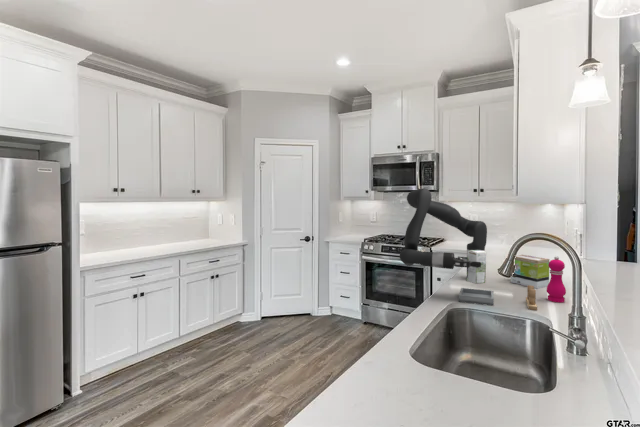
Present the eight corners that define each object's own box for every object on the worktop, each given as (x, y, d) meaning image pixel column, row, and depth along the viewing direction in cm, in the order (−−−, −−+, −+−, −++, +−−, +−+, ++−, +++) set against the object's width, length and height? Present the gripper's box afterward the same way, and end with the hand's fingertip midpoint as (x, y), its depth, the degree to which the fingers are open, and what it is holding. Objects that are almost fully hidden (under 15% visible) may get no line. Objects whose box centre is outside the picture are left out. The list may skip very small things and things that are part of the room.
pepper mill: (559, 298, 160) (560, 254, 159) (569, 303, 153) (570, 257, 152) (543, 298, 160) (543, 254, 160) (551, 302, 153) (552, 257, 152)
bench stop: (525, 300, 157) (526, 283, 157) (533, 301, 156) (533, 284, 156) (528, 309, 145) (528, 291, 144) (537, 310, 143) (537, 292, 143)
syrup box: (476, 280, 163) (476, 249, 163) (486, 283, 158) (486, 251, 157) (466, 281, 161) (466, 250, 161) (475, 284, 156) (476, 251, 155)
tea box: (509, 282, 190) (510, 255, 189) (522, 280, 194) (522, 254, 193) (537, 289, 176) (537, 259, 176) (549, 286, 180) (550, 258, 180)
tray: (461, 293, 169) (461, 287, 169) (493, 297, 163) (493, 290, 163) (458, 301, 157) (458, 295, 157) (493, 305, 150) (493, 298, 150)
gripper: (441, 254, 159) (480, 257, 152) (445, 250, 172) (481, 252, 164) (441, 270, 159) (480, 274, 152) (444, 265, 172) (481, 268, 165)
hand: (481, 263), depth 158 cm, fingers closed on syrup box, 8 cm apart
